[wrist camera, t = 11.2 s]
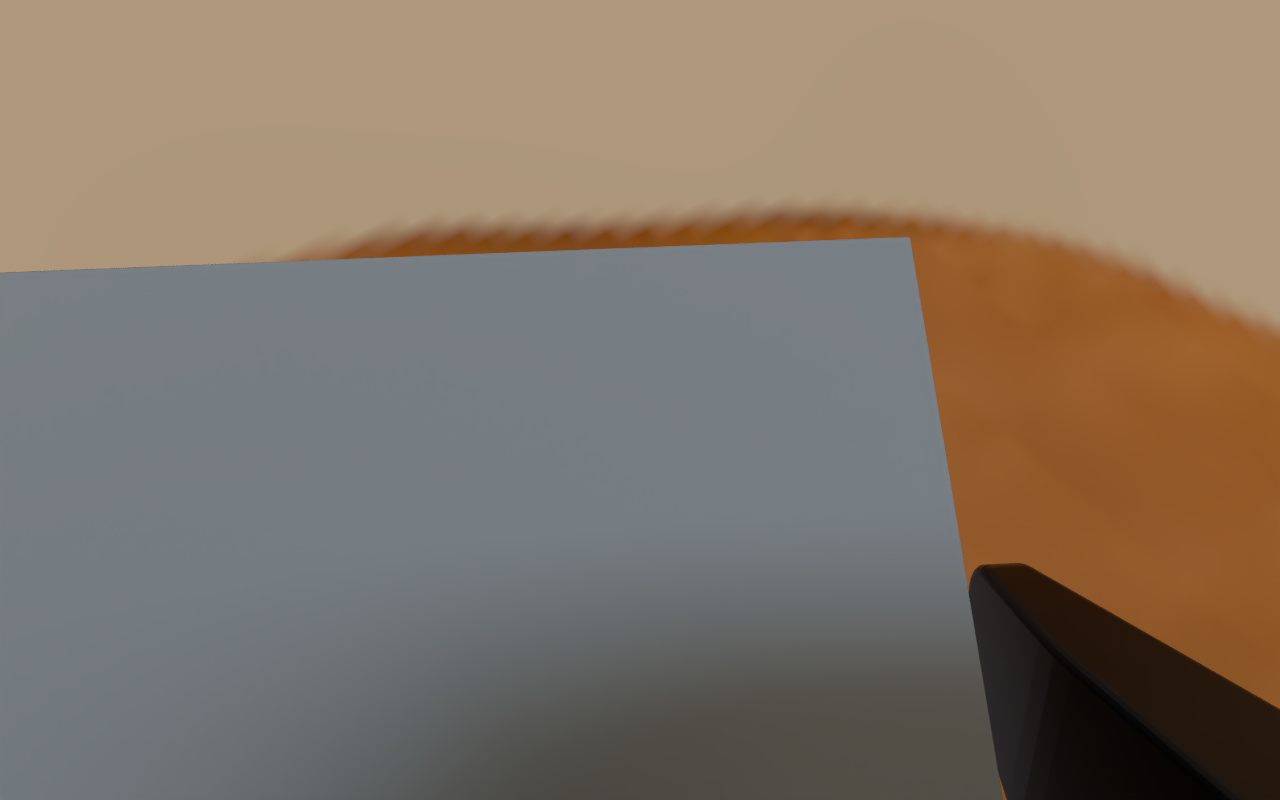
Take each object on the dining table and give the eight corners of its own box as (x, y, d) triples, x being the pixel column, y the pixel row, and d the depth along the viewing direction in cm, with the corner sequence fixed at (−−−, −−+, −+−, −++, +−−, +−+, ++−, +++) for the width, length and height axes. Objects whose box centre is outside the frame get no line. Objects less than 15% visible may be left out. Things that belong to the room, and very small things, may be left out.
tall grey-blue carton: (773, 972, 14) (1164, 1767, 3) (358, 989, 13) (-594, 1839, 3) (741, 558, 16) (909, 238, 5) (385, 572, 16) (-125, 277, 5)
